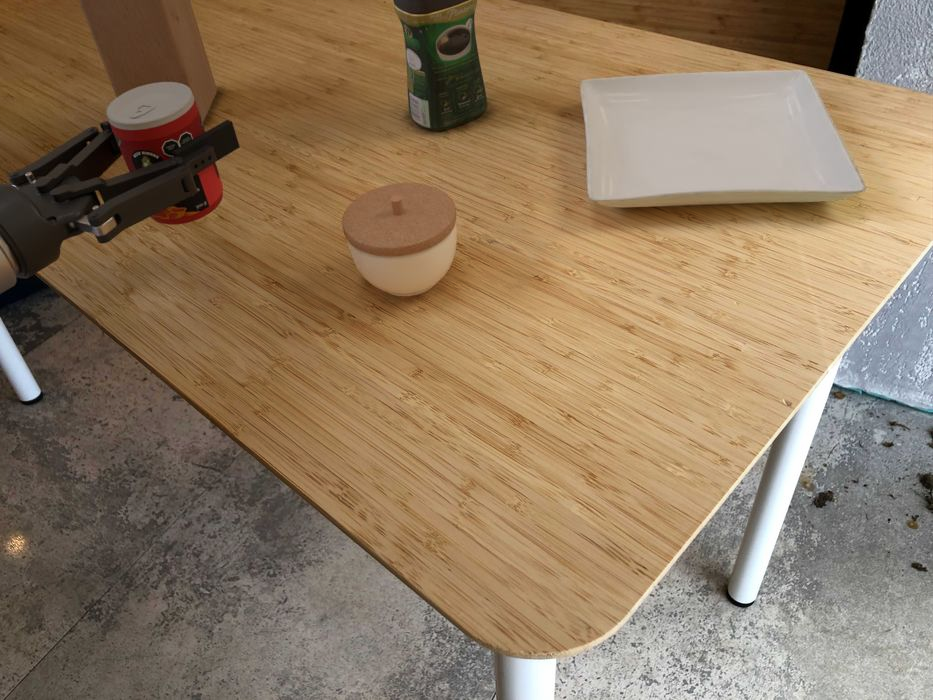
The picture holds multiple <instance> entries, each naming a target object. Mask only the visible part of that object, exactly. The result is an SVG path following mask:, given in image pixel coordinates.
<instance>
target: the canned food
mask: <svg viewBox="0 0 933 700" xmlns="http://www.w3.org/2000/svg"><path fill="white" fill-rule="evenodd" d="M106 116H107V121H109V123H110V125H111V128H112V131H113V133H114V136H115V138H116V141H117V143H118V146H119V148H120V150H121V153H122V155H121V156H122V158H123V160H124V162H125V165H126V167H127V170H128V172H131V171H134V170H137V169H140V168H143V167H146V166H149V165H152V164H155V163H158V162H161V161H164V160H167V159H170V158H173V157H174V156H173V153H172V151H174V150H175V149H177V148H179V147H180V146H182V145H184V144H186V143H188V142H189V141H191V140H193V139H194V138H196V137H198V136H200V135H201V134H203V133H205V132H206V129H205V125H204V122H202V119H201V116H200V113H199V110H198V107H197V104H196V101H195V98H194V96H193V94H192V91H191V89H190V88H189V87H188V86H186V85H184V84H181V83H176V82H159V83H152V84H147V85H143V86H140V87H137V88H134V89H132V90H129V91H127V92H125V93H123V94H122V95H120V96H119V97H116V98H114V100H112V101H111V102H110V103H109V104H108V105H107V108H106ZM193 179H194V182H195V185H196V188H197V193H196V194H194V195H193V196H191V197H189V198H187V199H185V200H183V201H181V202H179V203H177V204H175V205H173V206H171V207H169V208H167V209H165V210H163V211H161V212H159V213H157V214H155V215H153V216H151V217H150V218H151V219H152V220H153V221H155V222H156V223H160V224H163V225H173V226H174V225H176V226H177V225H184V224H188V223H192V222H195V221H198V220H200V219H202V218H205V217H206V216H208V215H209V214H210V213H212V212H213V211H214V210H216V208H217V207H219V205H220V204H221V202H222V201H223V198H224V197H223V196H224V185H223V182H222V179H221V176H220V173H219V170H218V165H217V163H216V162H215V163H214V164H212V165H211V166H209V167H208V168H206V169H204V170H203V171H201V172H199V173H198V174H196V175H194V176H193Z"/></svg>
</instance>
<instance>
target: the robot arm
mask: <svg viewBox="0 0 933 700" xmlns="http://www.w3.org/2000/svg"><path fill="white" fill-rule="evenodd" d="M99 127H100V128H101V130H102V131H100V130H99V128H98V127H97V126H90V127H87V128H86V129H84V130H83V131H81V132H80V133H78V134H76V135H75V136H73V137H72V138H70V139H69V140H67V141H65V142H64V143H62V144H61V145H59V146H58V147H56V148H54V149H53V150H52V151H50V152H48V153H47V154H45V155H44V156H41V157H40V158H38V159H37V160H36V161H34V162H33V163H31V164H29V165H26V166H24V167H21V168H19V169H17V170H14V171H11V172H10V173H9V174H8V175H7V178H8V181H9V182H10V183H6V182H5V183H4V182H3V183H0V295H1V294H3V293H5V292H7V291H8V290H9V289H11V288H13V287H15V286H16V283H17V278H18V279H25V280H26V279H29V278H30V277H32V276H34V275H36V274H37V273H39V272H41V271H42V270H44V269H45V268H47V267H49V266H50V265H52V264H54V263H55V262H57V261H58V260H59V258H60V256H61V247H62V244H63V242H64V241H66V240H68V239H70V238H74V237H76V236H80V235H82V234H84V233H85V232H86V233H89V234H92V235H94V236H95V239H96V240H97V242H98V244H101V245H102V244H107V243H109V242H111V241H112V240H113V239H114V238H115V237H117V236H118V235H119V234H120V233H122V232H123V231H124V230H127V229H128V228H130V227H132V226H135V225H136V224H139V223H141V222H143V221H145V220H147V219H148V218H151V216H153V215H155V214H157V213H159V212H161V211H163V210H165V209H167V208H169V207H171V206H173V205H175V204H177V203H179V202H181V201H183V200H185V199H187V198H189V197H191V196H193V195H194V194H196V193H197V188H196V185H195V182H194V179H193V176H194V175H196V174H198V173H199V172H201V171H203V170H204V169H206V168H208V167H209V166H211V165H212V164H214V163H216V162H218V161H220V160H222V159H223V158H225V157H227V156H228V155H230V154H231V153H234V152H235V151H236V150H238V149H239V148H241V147H240V143H239V139H238V137H237V133H236V129H235V126H234V123H233V121H231V120H228V119H226V120H224V121H223V122H220V123H219V124H217V125H215V126H214V127H212V128H210V129H208V130H206V131H205V133H203V134H201V135H200V136H198V137H196V138H194V139H193V140H191V141H189V142H188V143H186V144H184V145H182V146H180V147H179V148H177V149H175V150H174V151H172V153H173V156H174V157H173V158H170V159H167V160H164V161H161V162H158V163H155V164H152V165H149V166H146V167H143V168H140V169H137V170H134V171H131V172H129V171H128V172H125V173H122V174H119V175H116V176H113V177H111V178H108V179H107V178H106V179H104V178H102V175H104V173H106V171H107V170H109V168H110V167H111V166H113V164H114V163H116V162H117V160H119V159H120V158H121V157H122V156H123V155H122V153H121V150H120V148H119V146H118V143H117V141H116V138H115V136H114V133H113V131H112V128H111V125H110V123H109V120H106V121H102V122H100V123H99ZM88 142H89V143H88ZM97 192H98V193H99V196H100V197H101V200H102V203H101V201H100V198H99V197H98V194H97Z"/></svg>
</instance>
